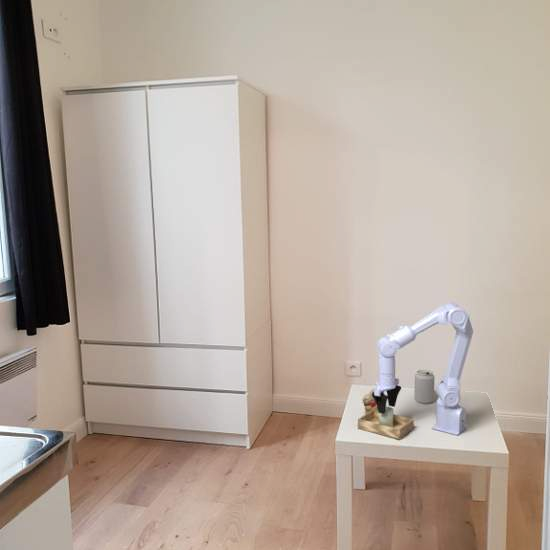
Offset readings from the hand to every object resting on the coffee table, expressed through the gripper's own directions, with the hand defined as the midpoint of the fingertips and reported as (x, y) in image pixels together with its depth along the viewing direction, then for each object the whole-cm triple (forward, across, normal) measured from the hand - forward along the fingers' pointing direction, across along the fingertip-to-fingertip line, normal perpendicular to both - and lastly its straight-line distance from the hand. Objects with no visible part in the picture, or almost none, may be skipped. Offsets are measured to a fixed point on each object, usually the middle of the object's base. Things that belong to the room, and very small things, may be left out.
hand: (386, 409), depth 205 cm
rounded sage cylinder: (+6, 0, 0) cm, 7 cm away
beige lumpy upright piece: (+7, -9, -10) cm, 16 cm away
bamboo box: (+7, +1, 0) cm, 7 cm away
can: (+7, -31, 0) cm, 32 cm away
